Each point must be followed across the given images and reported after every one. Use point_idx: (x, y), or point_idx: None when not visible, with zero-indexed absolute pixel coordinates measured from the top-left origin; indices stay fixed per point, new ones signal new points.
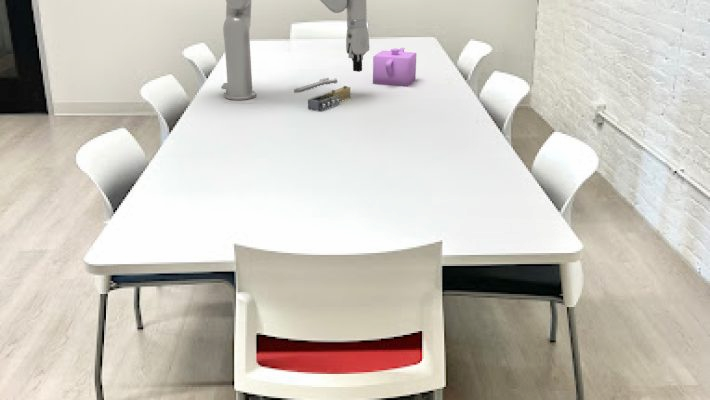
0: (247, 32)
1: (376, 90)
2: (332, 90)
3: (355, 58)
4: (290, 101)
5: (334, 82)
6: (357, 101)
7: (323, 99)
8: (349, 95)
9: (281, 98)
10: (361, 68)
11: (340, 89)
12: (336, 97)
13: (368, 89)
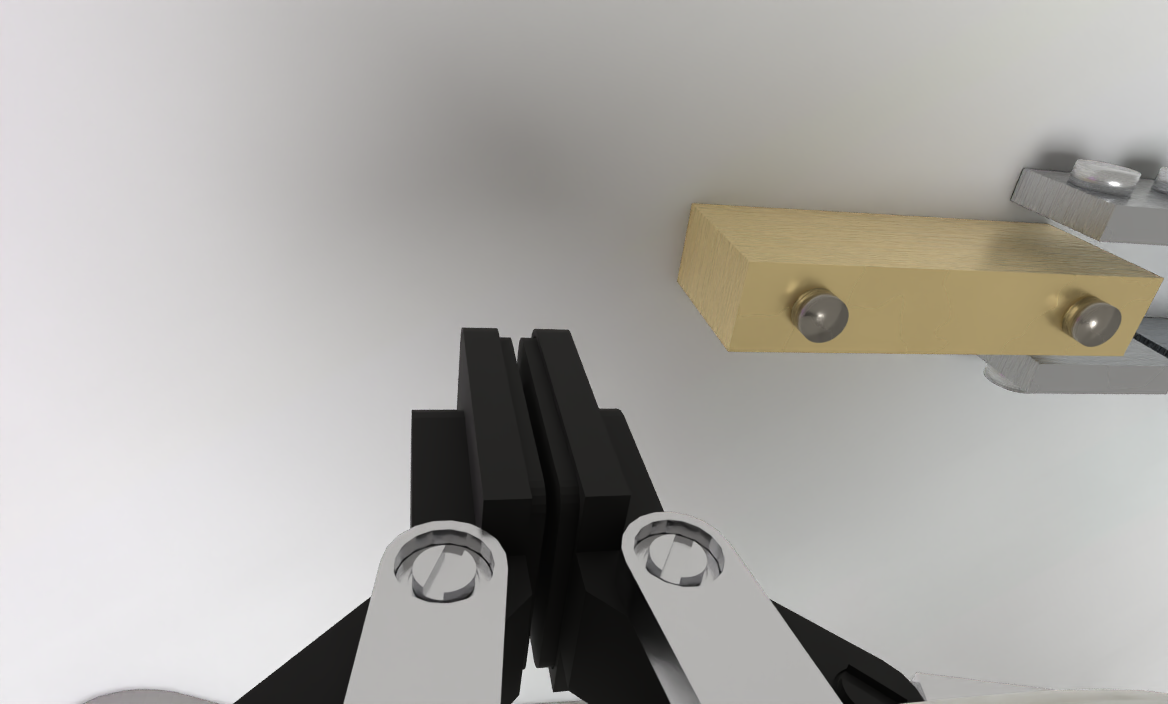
0: None
1: (37, 67)
2: (1101, 335)
3: (829, 647)
4: (993, 585)
5: (156, 699)
6: (834, 17)
7: None
8: (727, 218)
9: None
10: (501, 355)
11: (929, 311)
12: (1159, 203)
13: (89, 222)
